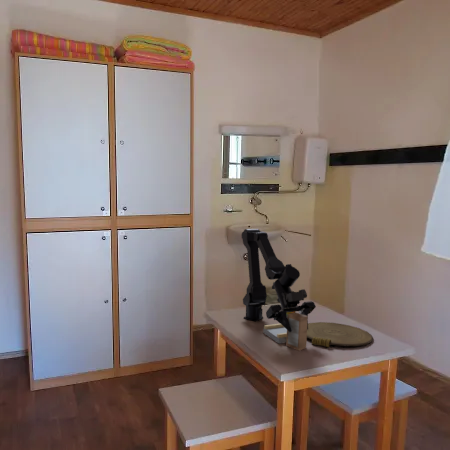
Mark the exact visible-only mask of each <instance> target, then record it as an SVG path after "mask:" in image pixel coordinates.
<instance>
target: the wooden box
mask: <svg viewBox="0 0 450 450" xmlns="http://www.w3.org/2000/svg"><path fill="white" fill-rule="evenodd" d="M287 319H288V321H289V324H290V326H291V330H292V331H291V332H289V331H288V330H287V342H286V347H288V348H290V349H291V348H292V349H293V350H296V351H298V352H299V351H302V350H304V349H307V339H308V338H307V320H309V315H308V316H306V315H302V314H300V313H299V312H297V311H296V312H293V313H290V314H288V317H287Z"/></svg>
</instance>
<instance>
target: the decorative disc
mask: <svg viewBox="0 0 450 450" xmlns="http://www.w3.org/2000/svg"><path fill="white" fill-rule="evenodd" d="M307 339H309V340H311V345H314V346H320V347H326V348H330V347H331V346H339V347H359V346H365V345H368V344H370V343H371V342H372V341H373V340H374V337H373V335H372V334H371V333H370V332H368V331H367V330H364V329H362V328H359V327H357V326H353V325H349V324H343V323H336V322H327V321H326V322H324V321H323V322H322V321H320V322H310V323H309V322H308V330H307Z"/></svg>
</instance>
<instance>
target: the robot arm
mask: <svg viewBox="0 0 450 450" xmlns="http://www.w3.org/2000/svg"><path fill="white" fill-rule="evenodd" d="M241 239H242V244H243V245H244V247H245V248H246V250H247V263H248V265H247V266H248V277H249V283H248V285H247V287H246V293H245V295H244V297H243V298H242V304H243V306H245V316H244V317H243V319H246V320H250V321H253V322H258V321H260V320H262V319H264V316H263V306H265V305H266V302H267V298H268V295H267V287H266V285H264V284H263V283H262V279H261V268H260V267H261V265H260V254H259V251H260V253H261V256H262V258H263V260H264V264H265V267H264V270H265V275H266V277H267V279H268V280H270V281H272V280H274V281H273V283H272V285H271V290H275V292H276V295H277V299H276V302H278V303H279V304H271V305H270V306H269V307H268V309H267V310H266V312H265V315H266V319H268V320H269V319H273V320H274V321H277V323H278V324H282V325H283V326H284V327H285V328H286V329H287V330H288V331H289V332H291V331H292V330H291V326H290V324H289V321H288V319H287V318H288V317H287V315H286V313H287V312H296V313H297V312H298V313H299V314H302V315H306V316H308V317H309V315H310V314H311V313H312V312H313V311H314V309H316V304H315V302H314V301H312V300H310V301H309V300H308V301H304V300H305V299H307V298H308V293H307V291H306V289H305V288H304V289H302V288H301V289H299V290H298V291H293V290H292V289H291V287H292V286H293V285H294V284H295V283H296V282H297V281H298V279H299V278H300V275H301V273H300V270H299V269H297V267H294V266H293V265H292V264H291V263H290V264H288V263H287V264H286V265H285V264H284V263H283V261H281V259H279V258H278V257H277V256H276V254H275V251H274V248H273V247H272V245H271V242H270V239H269V235H268V233H267V232H265V231H261V230H260V229H259V228H245V229H243V231H242V232H241ZM302 301H304V302H303V303H302V304H301V305H299V304H300V303H301V302H302ZM308 320H309V319H308ZM308 320H307V330H308V323H309V321H308Z"/></svg>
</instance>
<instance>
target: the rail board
mask: <svg viewBox="0 0 450 450" xmlns="http://www.w3.org/2000/svg"><path fill="white" fill-rule="evenodd" d="M262 333H263V334H265V335H266V336H267V337H269V338H270V339H272V340H273V342H276V343H277V344H285V343H286V342H287V329H286V328H285V327H284V326H283V325H282V324H280V323H273V324H266V325H265V324H264V326H263V332H262Z"/></svg>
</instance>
